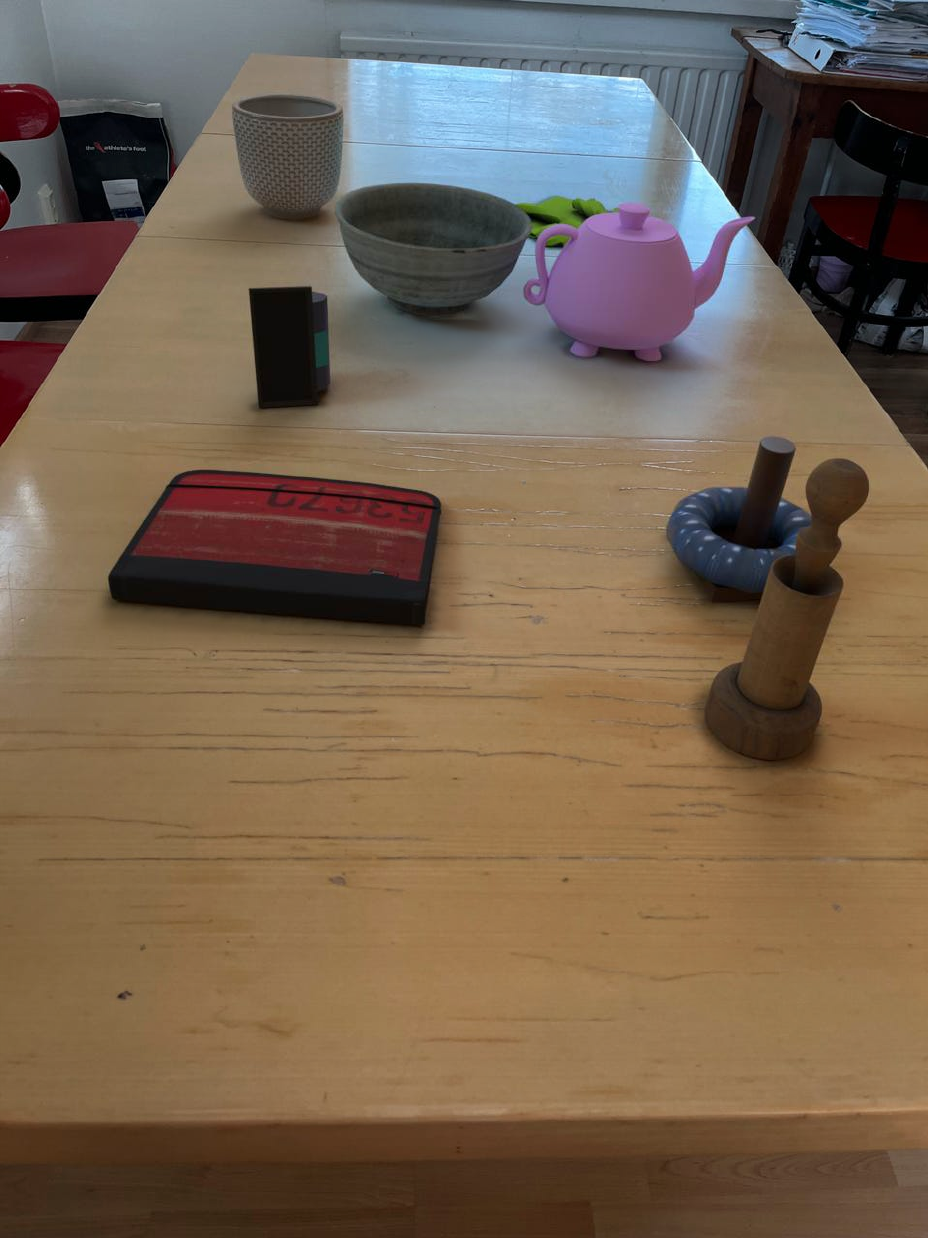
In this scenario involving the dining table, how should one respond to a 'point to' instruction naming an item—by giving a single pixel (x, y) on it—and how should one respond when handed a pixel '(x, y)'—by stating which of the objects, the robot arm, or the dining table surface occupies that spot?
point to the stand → (756, 510)
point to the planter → (289, 151)
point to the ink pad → (284, 547)
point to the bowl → (431, 243)
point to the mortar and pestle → (789, 630)
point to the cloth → (561, 215)
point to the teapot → (626, 280)
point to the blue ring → (719, 556)
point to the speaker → (290, 345)
